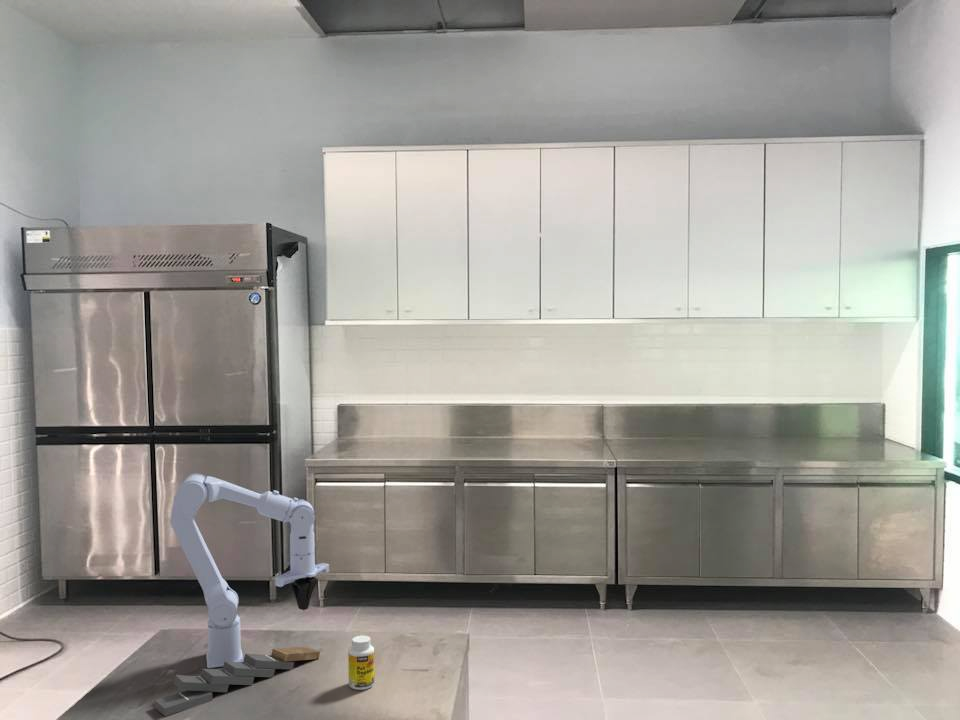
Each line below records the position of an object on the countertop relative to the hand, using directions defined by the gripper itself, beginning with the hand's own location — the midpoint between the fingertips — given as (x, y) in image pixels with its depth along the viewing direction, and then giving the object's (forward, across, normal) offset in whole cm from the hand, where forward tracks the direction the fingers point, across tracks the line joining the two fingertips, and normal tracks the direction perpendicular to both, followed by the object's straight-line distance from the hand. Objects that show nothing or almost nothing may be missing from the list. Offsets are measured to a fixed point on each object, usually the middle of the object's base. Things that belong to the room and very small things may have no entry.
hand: (303, 608), depth 188 cm
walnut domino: (+10, 0, -4) cm, 10 cm away
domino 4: (+10, -13, -3) cm, 16 cm away
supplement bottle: (+11, -4, -24) cm, 27 cm away
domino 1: (+10, -23, -2) cm, 25 cm away
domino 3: (+10, -18, -3) cm, 21 cm away
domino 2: (+10, -27, -2) cm, 29 cm away
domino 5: (+10, -8, -4) cm, 13 cm away
